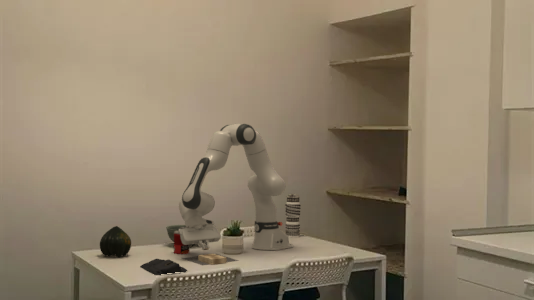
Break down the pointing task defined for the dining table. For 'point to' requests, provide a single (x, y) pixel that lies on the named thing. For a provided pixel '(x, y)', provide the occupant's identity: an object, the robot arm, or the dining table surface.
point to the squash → (115, 242)
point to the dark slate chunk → (162, 267)
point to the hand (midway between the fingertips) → (206, 249)
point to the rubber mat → (195, 260)
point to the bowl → (172, 229)
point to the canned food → (179, 245)
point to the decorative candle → (292, 215)
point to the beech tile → (212, 259)
